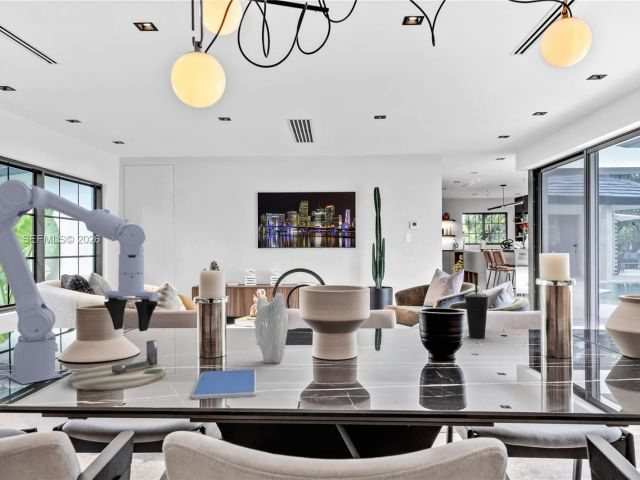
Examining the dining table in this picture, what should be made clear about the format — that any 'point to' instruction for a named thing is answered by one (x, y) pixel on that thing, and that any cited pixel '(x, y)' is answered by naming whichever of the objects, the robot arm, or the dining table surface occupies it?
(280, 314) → the white ribbed vase
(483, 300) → the drinking cup
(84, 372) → the dial board
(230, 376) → the tablet computer
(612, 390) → the dining table surface
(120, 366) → the lever
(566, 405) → the dining table surface
